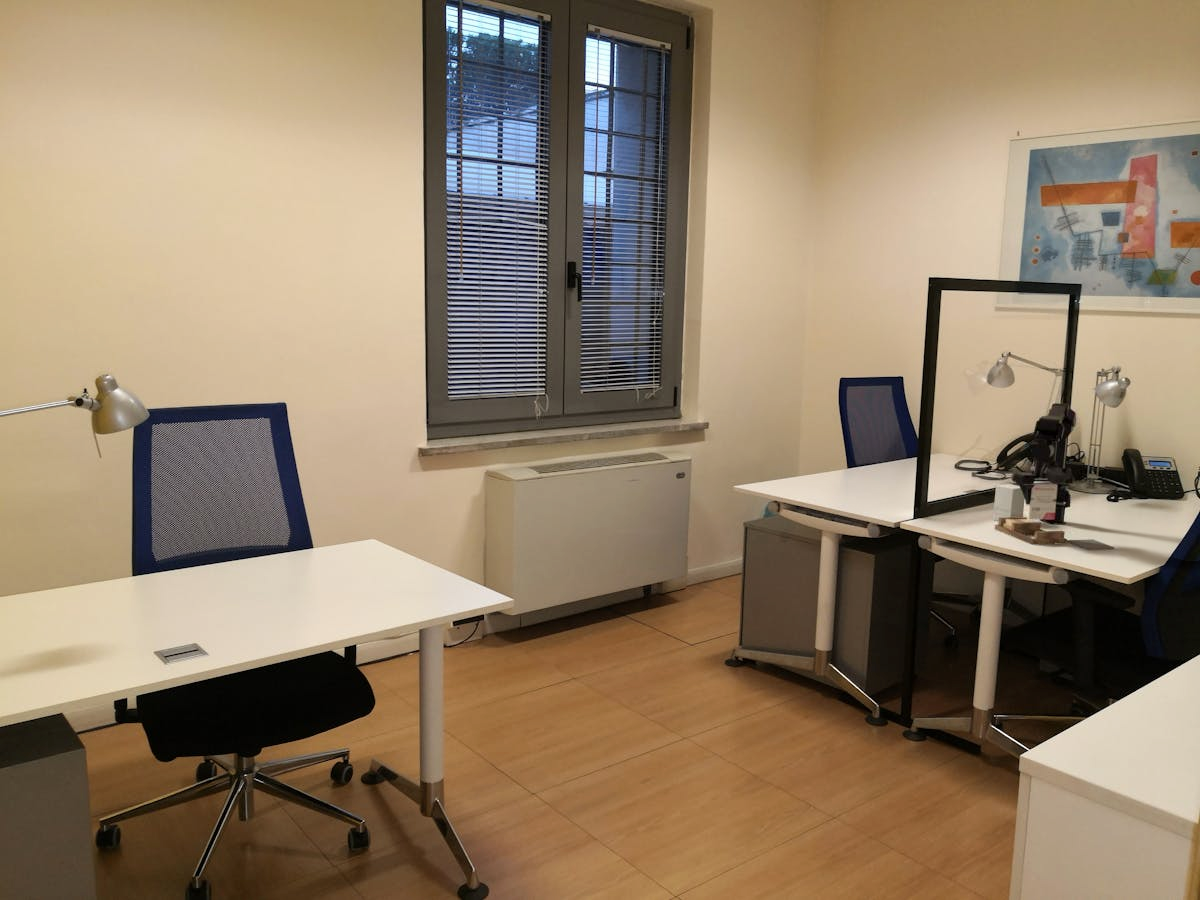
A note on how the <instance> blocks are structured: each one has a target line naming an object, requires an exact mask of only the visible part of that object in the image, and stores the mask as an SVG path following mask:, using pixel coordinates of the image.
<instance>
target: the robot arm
mask: <svg viewBox="0 0 1200 900" xmlns="http://www.w3.org/2000/svg"><path fill="white" fill-rule="evenodd" d="M1076 425H1077V413H1076V412H1075V411H1074V410H1073V409H1072V408H1070V405H1069V404H1067V403H1059V402H1055V403H1052V405H1051V408H1050V409H1049V410H1048V414H1047V415H1042V416H1041V417H1039V419H1038V420H1036V422H1035V427H1034V430H1033V435H1032V440H1036V443H1035V444H1033V446H1032V447H1031V451H1030V452H1031V456H1032V462H1033V463H1035V464H1034V470H1031V473H1028V472H1026V471H1025V472H1015V473H1014V474H1013V475H1012V481H1013V482H1015V484H1016V485H1018V486H1020V488H1021V490H1022V493H1023V496H1024V498H1025V501H1026V504H1030V500H1031V491H1032V488H1033V487H1034V486H1035V485H1033V483H1034V482H1051V483H1053V484H1058V486H1057V497H1056V508H1055V519H1054V520H1048V519H1039V521H1040V522H1041V521H1042V522H1044V523H1047V524H1050V525H1066V524H1067V521H1065V513H1066V512H1065V511H1066V508H1071V504H1072V501H1071V500H1072V499H1071V496H1072V495H1071V494H1070V490H1068V489H1069V487H1070V486H1071V484H1074V480H1075V478H1074V476H1073V474H1072V469H1071V468H1070V467H1066V457H1067V448H1068V447H1067V446H1068V437H1069V436H1070V435H1071V434H1072V432H1073V431H1074V429H1075V428H1076Z"/></svg>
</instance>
